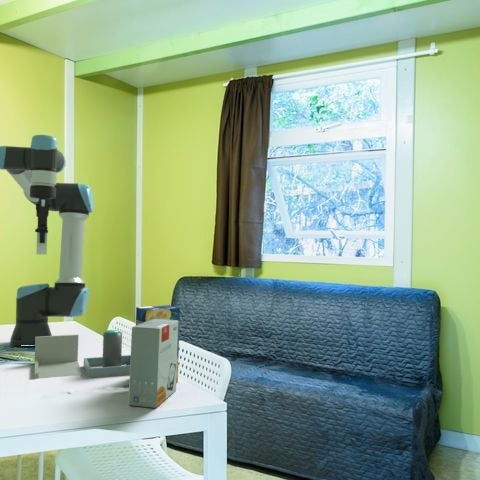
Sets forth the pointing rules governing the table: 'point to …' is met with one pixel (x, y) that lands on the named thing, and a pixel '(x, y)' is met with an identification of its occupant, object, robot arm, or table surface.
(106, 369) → the tray
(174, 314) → the beverage box
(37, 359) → the bay
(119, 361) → the bottle
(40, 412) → the table surface
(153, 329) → the hard drive box
